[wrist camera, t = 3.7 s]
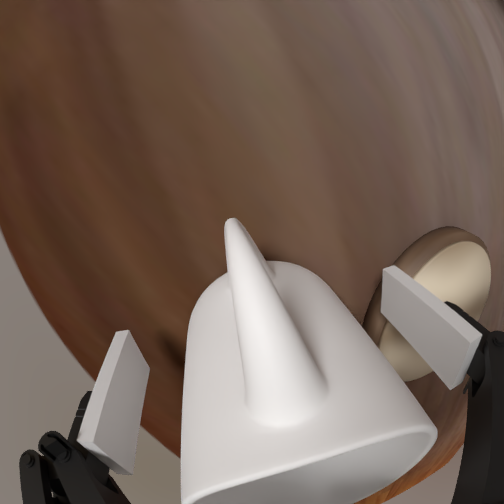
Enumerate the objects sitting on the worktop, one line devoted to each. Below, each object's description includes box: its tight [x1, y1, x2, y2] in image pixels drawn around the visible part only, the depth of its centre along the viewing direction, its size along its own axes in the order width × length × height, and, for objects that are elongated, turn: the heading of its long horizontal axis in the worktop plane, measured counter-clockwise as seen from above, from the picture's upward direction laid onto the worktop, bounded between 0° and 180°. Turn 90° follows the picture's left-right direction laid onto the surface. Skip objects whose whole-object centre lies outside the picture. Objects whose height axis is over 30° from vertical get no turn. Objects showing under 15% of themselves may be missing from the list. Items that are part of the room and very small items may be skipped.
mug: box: [181, 218, 437, 504], centre depth 10 cm, size 9×12×11 cm
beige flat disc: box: [362, 226, 491, 382], centre depth 17 cm, size 13×13×2 cm
